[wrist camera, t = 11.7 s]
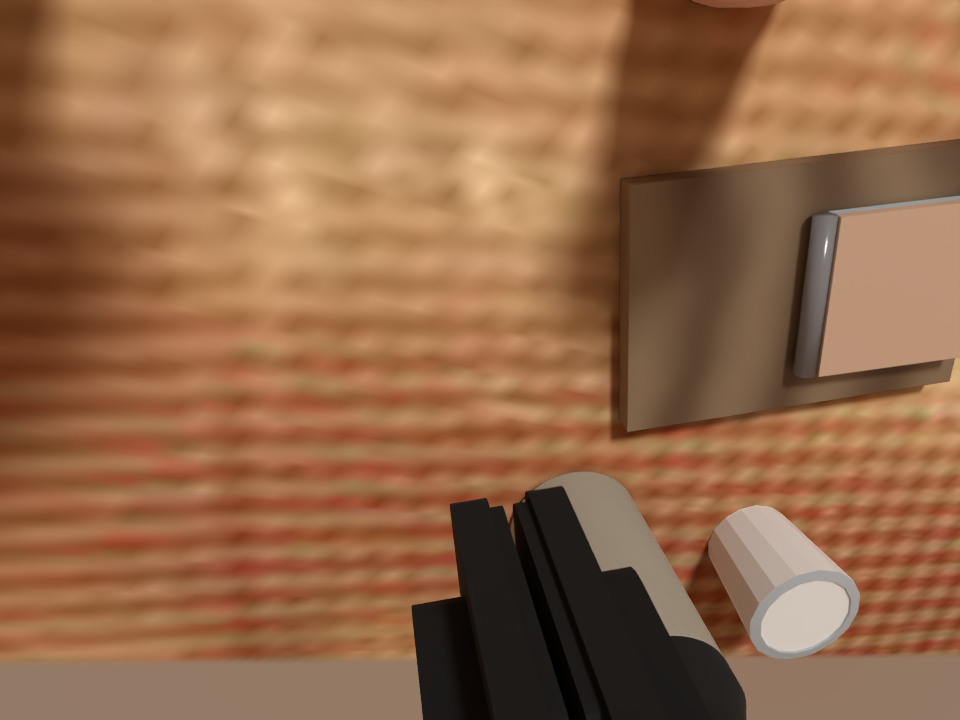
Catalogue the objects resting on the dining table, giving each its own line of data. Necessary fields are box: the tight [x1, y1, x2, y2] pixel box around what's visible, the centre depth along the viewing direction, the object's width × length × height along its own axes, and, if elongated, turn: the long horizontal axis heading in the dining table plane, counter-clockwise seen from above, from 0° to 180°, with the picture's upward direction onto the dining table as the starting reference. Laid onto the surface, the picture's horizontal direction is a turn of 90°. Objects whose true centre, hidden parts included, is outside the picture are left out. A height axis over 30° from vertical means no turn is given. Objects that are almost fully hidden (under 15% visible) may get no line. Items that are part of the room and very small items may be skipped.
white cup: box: [708, 505, 860, 659], centre depth 46 cm, size 7×7×7 cm
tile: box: [793, 196, 960, 378], centre depth 39 cm, size 10×9×1 cm
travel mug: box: [510, 472, 746, 720], centre depth 38 cm, size 8×8×18 cm
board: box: [619, 139, 960, 432], centre depth 40 cm, size 20×14×2 cm
